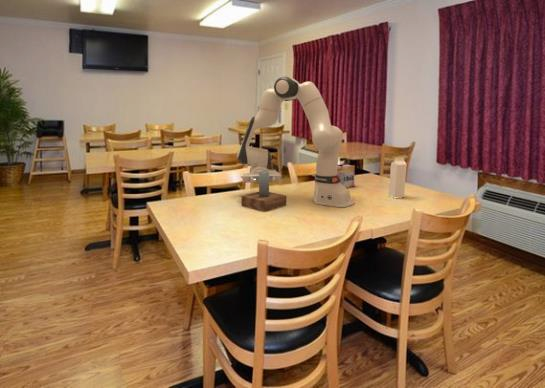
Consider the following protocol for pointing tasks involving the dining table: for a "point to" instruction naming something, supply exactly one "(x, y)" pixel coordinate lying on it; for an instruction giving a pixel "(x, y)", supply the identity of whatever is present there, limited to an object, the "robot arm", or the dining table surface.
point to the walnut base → (264, 201)
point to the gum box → (346, 174)
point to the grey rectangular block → (263, 184)
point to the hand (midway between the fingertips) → (263, 180)
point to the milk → (397, 177)
